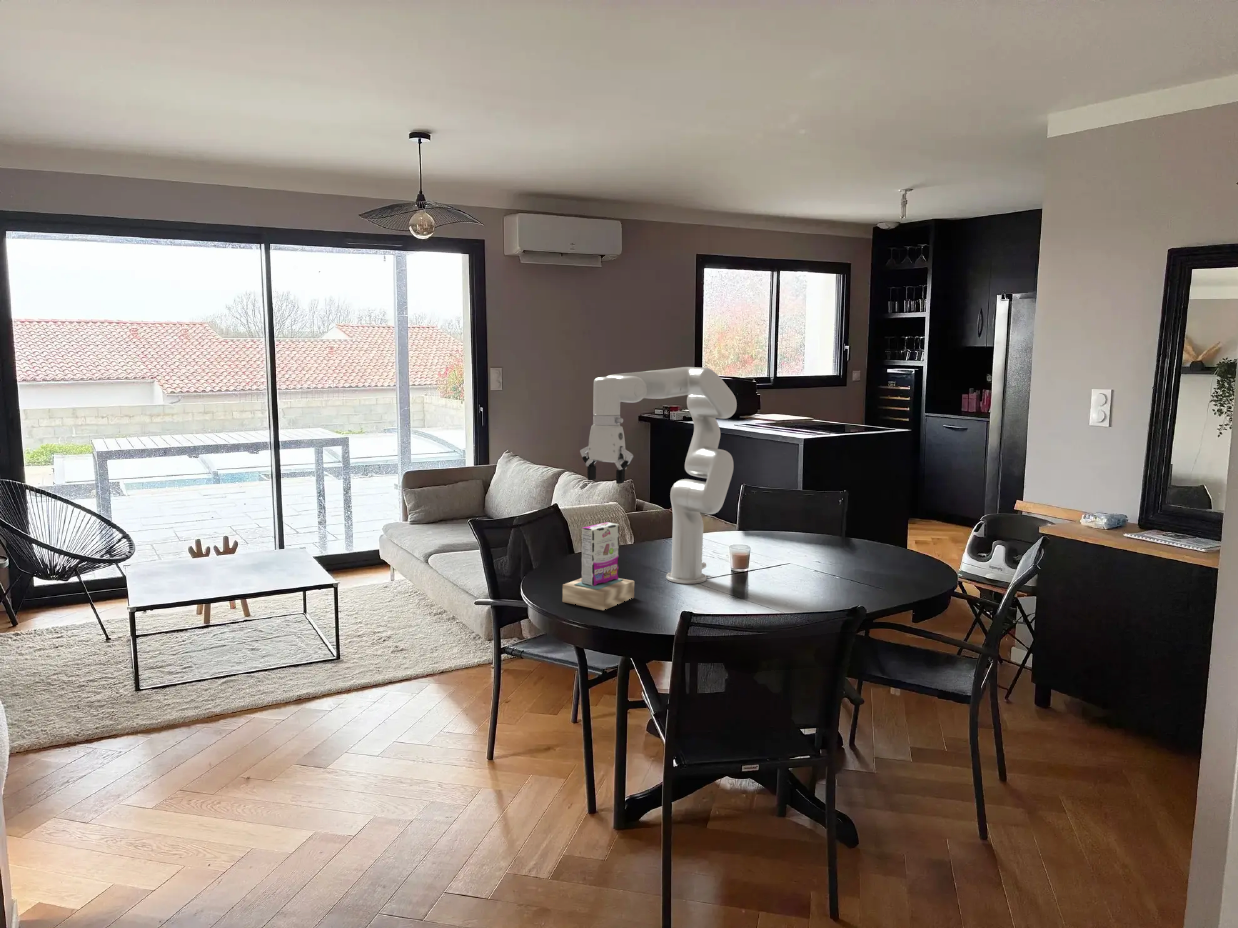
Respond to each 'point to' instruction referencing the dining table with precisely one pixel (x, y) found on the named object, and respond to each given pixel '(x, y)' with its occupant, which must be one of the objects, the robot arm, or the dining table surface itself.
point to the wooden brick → (598, 593)
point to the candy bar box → (600, 553)
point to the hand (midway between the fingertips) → (605, 481)
